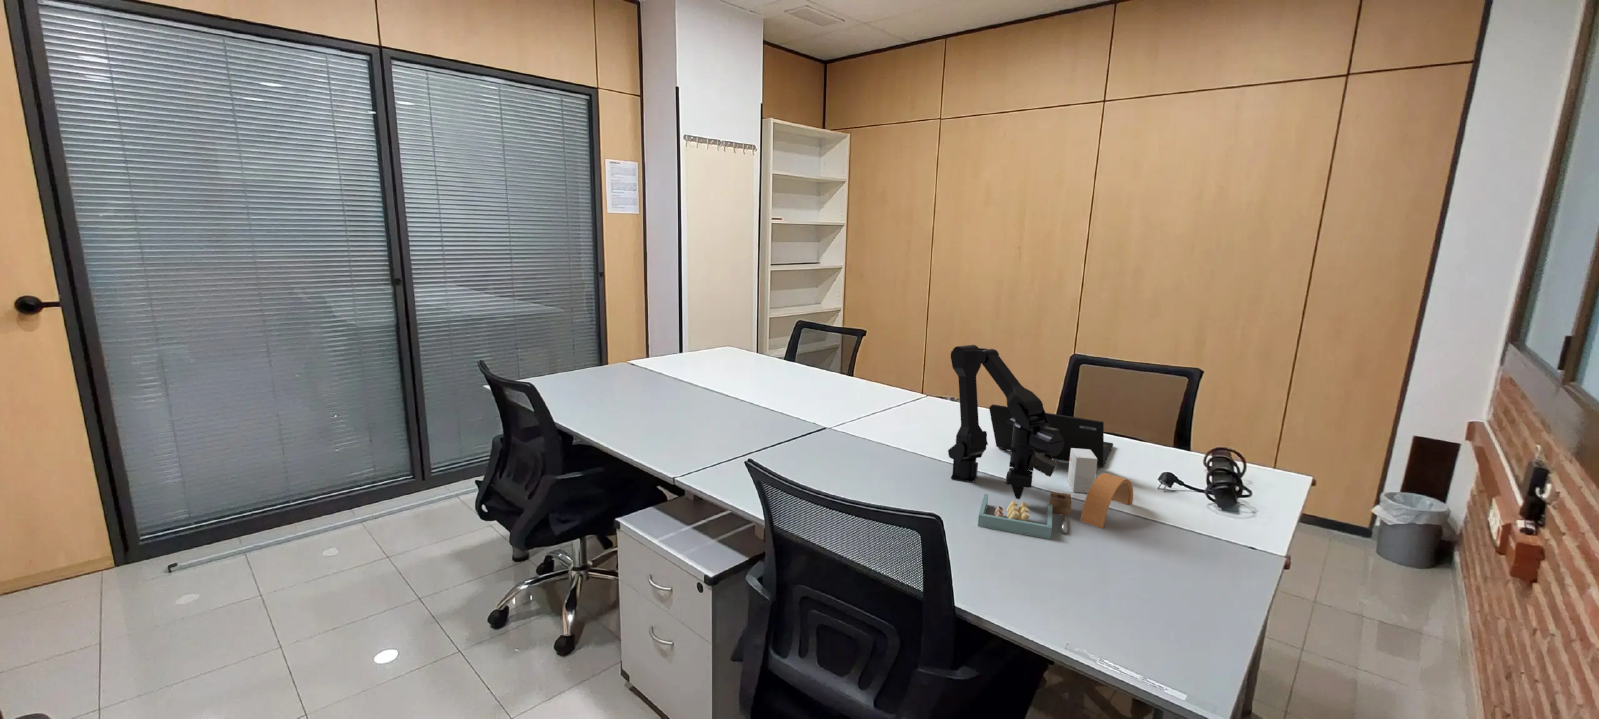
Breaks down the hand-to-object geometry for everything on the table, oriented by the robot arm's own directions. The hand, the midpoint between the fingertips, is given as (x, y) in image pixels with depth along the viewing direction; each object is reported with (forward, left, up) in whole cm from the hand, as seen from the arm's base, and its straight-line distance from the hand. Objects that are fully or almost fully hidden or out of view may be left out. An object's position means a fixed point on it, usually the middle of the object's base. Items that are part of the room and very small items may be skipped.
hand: (1017, 498), depth 170 cm
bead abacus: (-1, -12, -2) cm, 12 cm away
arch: (+22, +5, -2) cm, 23 cm away
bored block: (+11, +1, -2) cm, 11 cm away
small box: (+16, +19, -2) cm, 25 cm away
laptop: (+8, +45, -2) cm, 46 cm away
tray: (0, -10, -2) cm, 10 cm away
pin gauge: (+12, -9, -2) cm, 15 cm away
